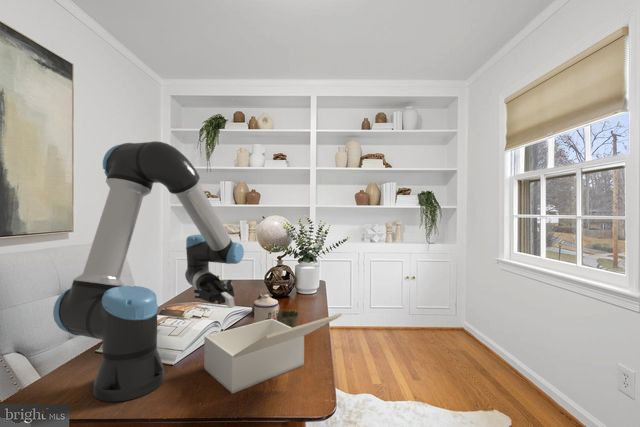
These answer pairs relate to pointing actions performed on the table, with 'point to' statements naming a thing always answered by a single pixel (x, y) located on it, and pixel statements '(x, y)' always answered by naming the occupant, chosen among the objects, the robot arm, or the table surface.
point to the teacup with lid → (265, 309)
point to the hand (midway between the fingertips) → (231, 302)
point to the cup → (288, 318)
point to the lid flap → (286, 335)
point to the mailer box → (250, 355)
